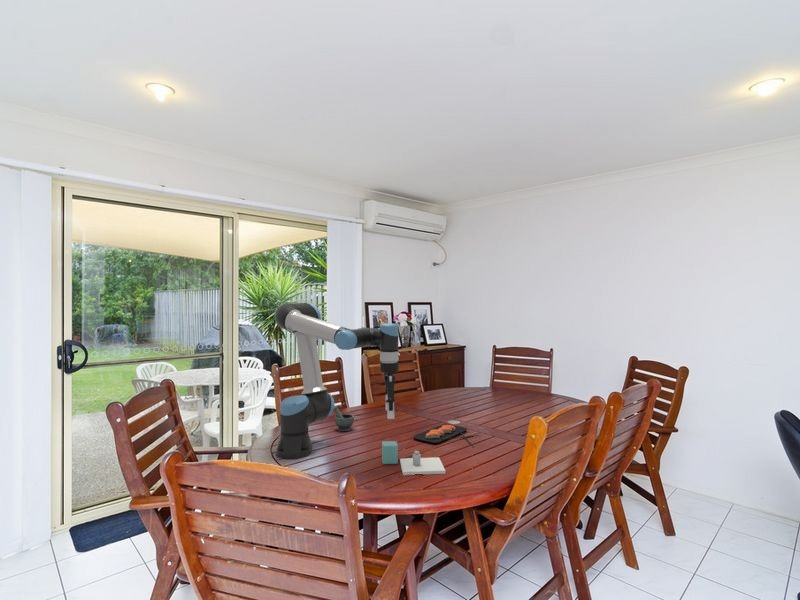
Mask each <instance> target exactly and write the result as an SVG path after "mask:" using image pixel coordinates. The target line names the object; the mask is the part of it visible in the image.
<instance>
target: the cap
mask: <svg viewBox="0 0 800 600" xmlns="http://www.w3.org/2000/svg"><path fill="white" fill-rule="evenodd" d="M398 449H399V445H398V441H397V440H390V441H388V440H387V441H385V440H384V441H382V442H381V453H382V454H381V455H382V456H381V457H382V458H381V459H382V465H389V464H391V465H394V464H397V465H398V463H399V461H398V460H399V457H398V456H399V455H398V454H399V451H398Z"/></svg>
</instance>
